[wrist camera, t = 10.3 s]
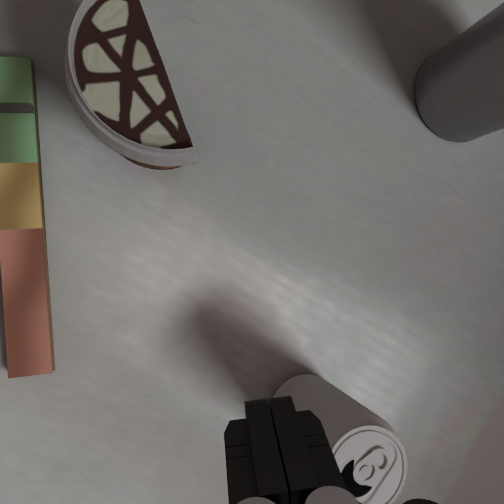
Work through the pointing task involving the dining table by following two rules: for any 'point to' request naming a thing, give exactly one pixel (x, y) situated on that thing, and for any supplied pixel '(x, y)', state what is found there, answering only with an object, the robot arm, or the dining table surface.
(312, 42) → the dining table surface
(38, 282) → the strip
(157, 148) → the food container
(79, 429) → the dining table surface
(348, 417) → the beverage can
